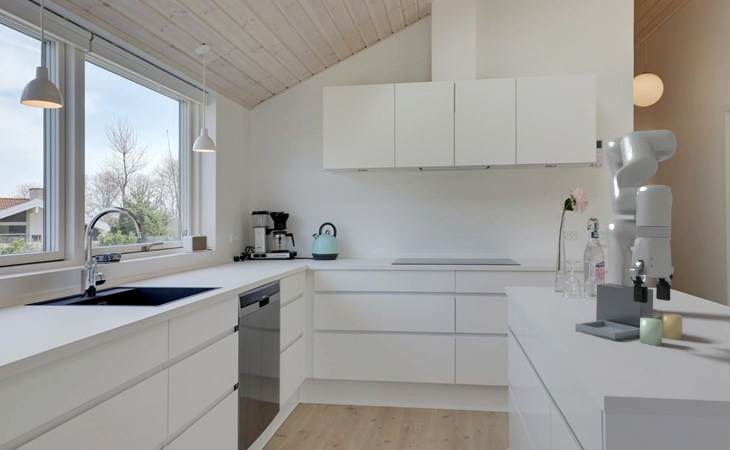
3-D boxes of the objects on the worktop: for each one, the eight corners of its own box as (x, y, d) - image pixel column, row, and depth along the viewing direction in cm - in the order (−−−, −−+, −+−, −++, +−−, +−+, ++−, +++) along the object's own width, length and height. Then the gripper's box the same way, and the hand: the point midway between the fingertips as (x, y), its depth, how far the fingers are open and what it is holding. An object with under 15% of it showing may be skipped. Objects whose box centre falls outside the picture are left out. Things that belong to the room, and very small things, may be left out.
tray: (602, 326, 134) (602, 319, 134) (641, 336, 124) (641, 328, 124) (575, 330, 129) (575, 323, 129) (614, 340, 119) (614, 333, 119)
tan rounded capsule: (666, 334, 127) (667, 312, 126) (685, 338, 122) (686, 316, 122) (656, 336, 124) (657, 314, 124) (675, 340, 120) (676, 317, 120)
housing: (609, 321, 141) (609, 282, 141) (655, 332, 129) (656, 289, 128) (593, 324, 137) (593, 284, 137) (639, 335, 125) (640, 291, 125)
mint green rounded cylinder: (646, 339, 120) (647, 317, 120) (665, 344, 116) (666, 320, 116) (635, 341, 118) (636, 318, 118) (654, 346, 114) (655, 322, 114)
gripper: (657, 233, 124) (656, 297, 124) (617, 233, 116) (616, 300, 116) (687, 234, 117) (686, 301, 117) (647, 233, 109) (646, 305, 109)
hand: (652, 301), depth 117 cm, fingers open, 9 cm apart
